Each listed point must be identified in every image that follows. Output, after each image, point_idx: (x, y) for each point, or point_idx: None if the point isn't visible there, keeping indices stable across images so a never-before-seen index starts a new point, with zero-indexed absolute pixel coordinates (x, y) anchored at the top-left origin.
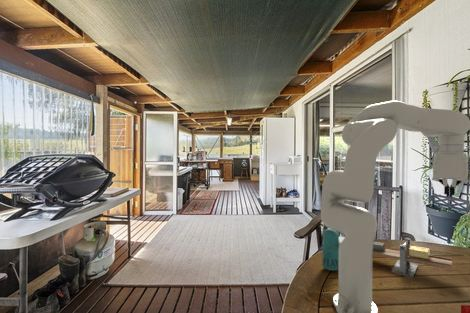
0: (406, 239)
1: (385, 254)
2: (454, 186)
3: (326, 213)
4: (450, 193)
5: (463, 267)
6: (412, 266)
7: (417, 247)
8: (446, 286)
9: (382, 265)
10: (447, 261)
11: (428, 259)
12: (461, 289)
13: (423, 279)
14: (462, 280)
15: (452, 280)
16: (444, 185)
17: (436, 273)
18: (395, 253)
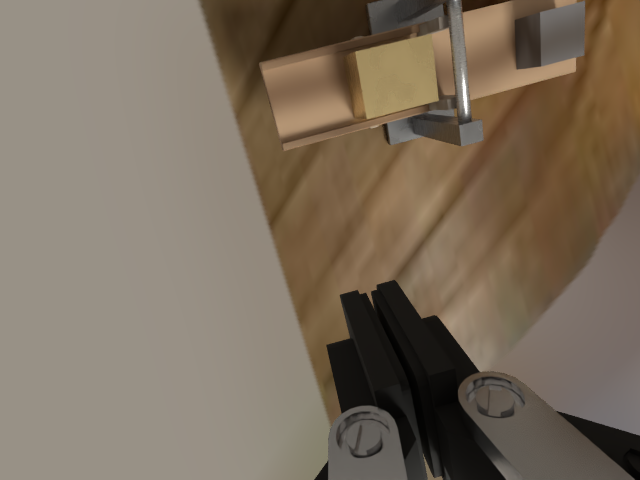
0: (473, 121)
1: (500, 3)
2: (346, 428)
3: None
4: (364, 312)
5: (290, 280)
6: None
7: (409, 93)
8: (269, 51)
9: None
10: (290, 117)
11: (345, 58)
12: (232, 74)
13: (338, 37)
14: (256, 160)
15: (275, 128)
16: (502, 388)
17: (327, 142)
18: (471, 54)
